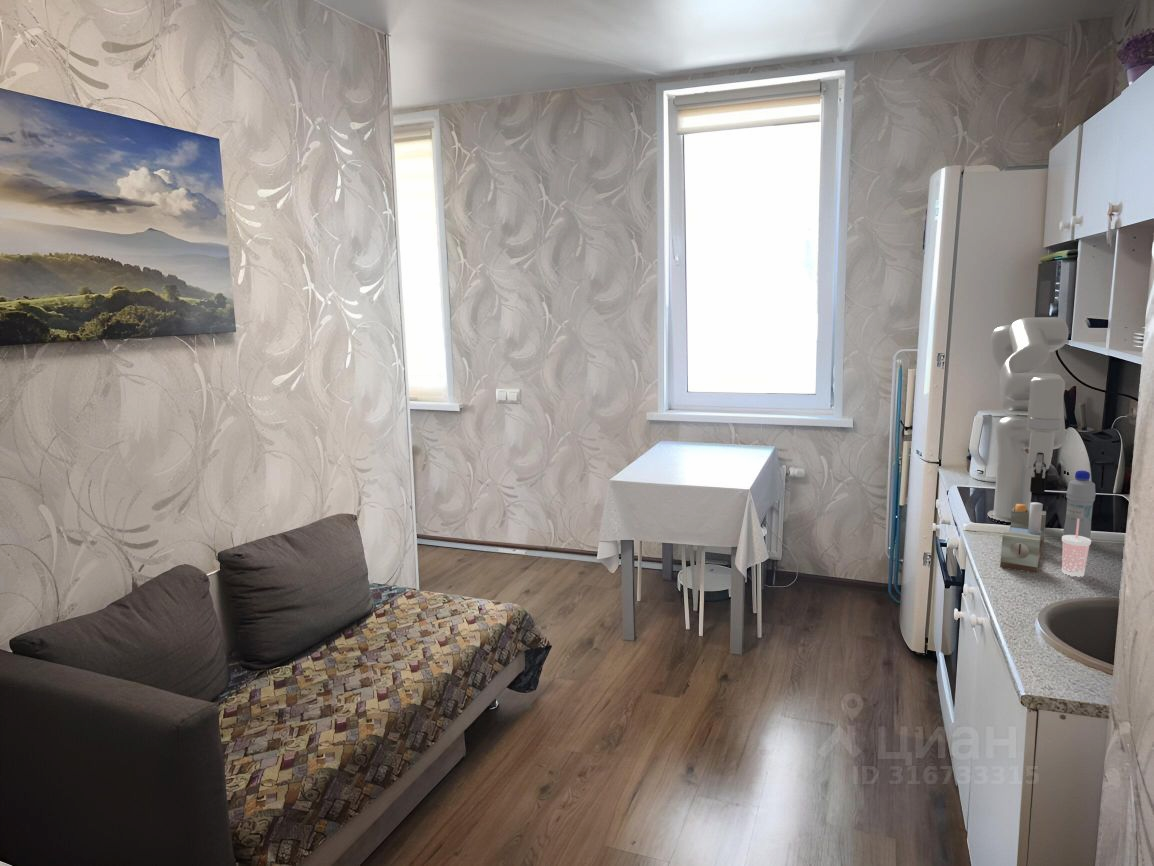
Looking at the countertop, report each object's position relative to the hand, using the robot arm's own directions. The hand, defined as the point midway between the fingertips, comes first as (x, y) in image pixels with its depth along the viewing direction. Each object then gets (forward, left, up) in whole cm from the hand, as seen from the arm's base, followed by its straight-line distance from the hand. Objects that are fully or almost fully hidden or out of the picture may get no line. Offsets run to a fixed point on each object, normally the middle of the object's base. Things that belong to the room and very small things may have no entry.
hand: (1038, 488), depth 202 cm
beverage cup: (+12, +9, -18) cm, 24 cm away
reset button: (-10, -4, -11) cm, 15 cm away
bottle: (-16, +9, -18) cm, 25 cm away
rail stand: (+2, -2, -17) cm, 18 cm away
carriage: (-1, -2, -15) cm, 15 cm away
